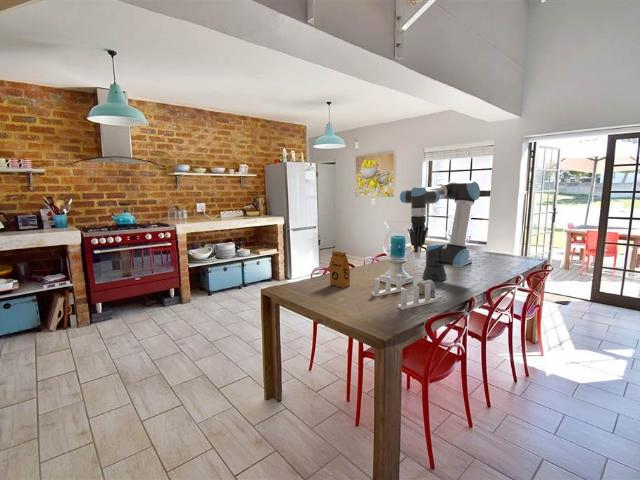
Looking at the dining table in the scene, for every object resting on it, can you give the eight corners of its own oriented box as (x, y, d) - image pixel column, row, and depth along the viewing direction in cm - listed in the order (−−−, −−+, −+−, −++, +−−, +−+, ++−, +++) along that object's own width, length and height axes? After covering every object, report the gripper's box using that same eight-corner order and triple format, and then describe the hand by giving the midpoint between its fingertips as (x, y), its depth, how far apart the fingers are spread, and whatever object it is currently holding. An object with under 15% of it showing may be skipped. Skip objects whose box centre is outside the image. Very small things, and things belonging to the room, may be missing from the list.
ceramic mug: (415, 292, 190) (415, 279, 188) (426, 290, 192) (427, 278, 191) (426, 298, 180) (427, 285, 178) (439, 296, 182) (439, 283, 181)
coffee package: (341, 289, 199) (340, 254, 195) (327, 285, 208) (327, 251, 205) (352, 286, 205) (352, 251, 202) (339, 282, 214) (338, 249, 211)
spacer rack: (400, 289, 196) (400, 273, 195) (433, 302, 173) (434, 285, 171) (371, 294, 187) (371, 278, 186) (402, 309, 164) (402, 291, 162)
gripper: (413, 216, 172) (413, 260, 175) (432, 215, 177) (431, 257, 181) (404, 215, 178) (403, 258, 182) (422, 214, 184) (421, 255, 188)
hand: (417, 257), depth 182 cm, fingers closed
